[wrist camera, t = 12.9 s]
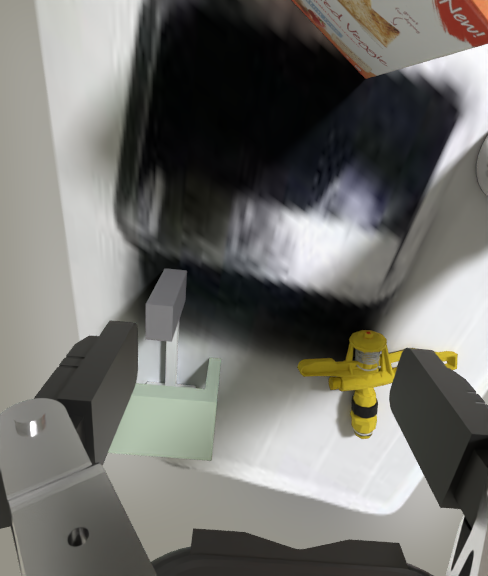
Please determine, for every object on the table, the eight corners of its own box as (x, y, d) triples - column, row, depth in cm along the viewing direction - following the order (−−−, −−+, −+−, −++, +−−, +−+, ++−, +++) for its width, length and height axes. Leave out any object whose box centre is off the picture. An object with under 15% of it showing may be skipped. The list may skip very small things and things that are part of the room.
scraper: (203, 272, 43) (193, 308, 35) (195, 389, 49) (185, 444, 41) (148, 266, 43) (125, 302, 34) (147, 385, 49) (127, 439, 41)
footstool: (221, 358, 47) (216, 402, 40) (216, 411, 50) (211, 460, 43) (121, 349, 47) (97, 392, 39) (122, 403, 50) (101, 452, 43)
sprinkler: (304, 456, 48) (302, 353, 41) (296, 432, 51) (292, 333, 45) (454, 430, 49) (473, 327, 43) (436, 408, 53) (451, 310, 47)
